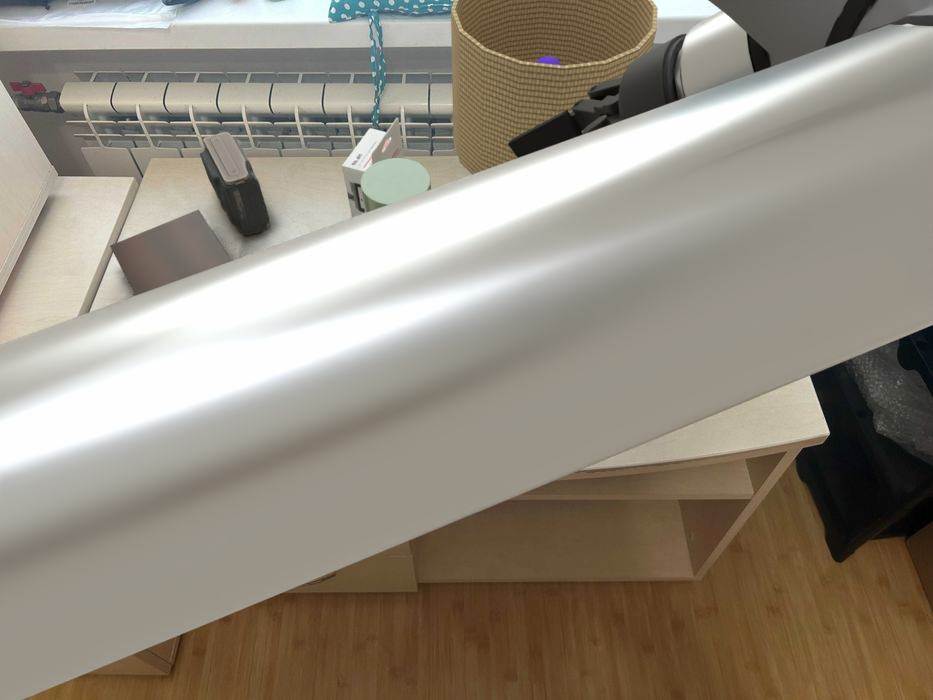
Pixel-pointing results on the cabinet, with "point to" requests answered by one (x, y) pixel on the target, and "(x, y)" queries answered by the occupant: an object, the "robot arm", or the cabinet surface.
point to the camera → (235, 183)
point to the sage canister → (393, 182)
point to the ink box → (369, 161)
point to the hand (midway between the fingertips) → (477, 201)
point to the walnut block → (169, 253)
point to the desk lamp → (534, 64)
